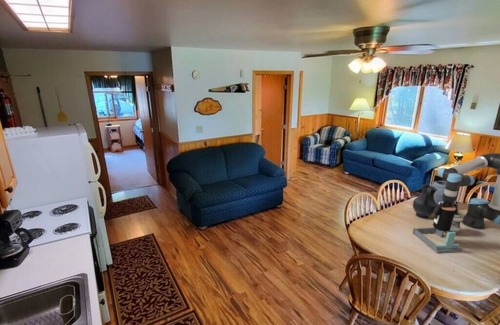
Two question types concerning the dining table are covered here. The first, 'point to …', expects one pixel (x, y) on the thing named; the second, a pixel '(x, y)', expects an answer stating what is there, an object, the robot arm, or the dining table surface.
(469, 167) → the robot arm
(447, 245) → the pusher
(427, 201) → the pitcher
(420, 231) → the grey piece
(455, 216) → the apothecary jar
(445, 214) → the coffee jar
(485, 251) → the dining table surface
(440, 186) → the vase
